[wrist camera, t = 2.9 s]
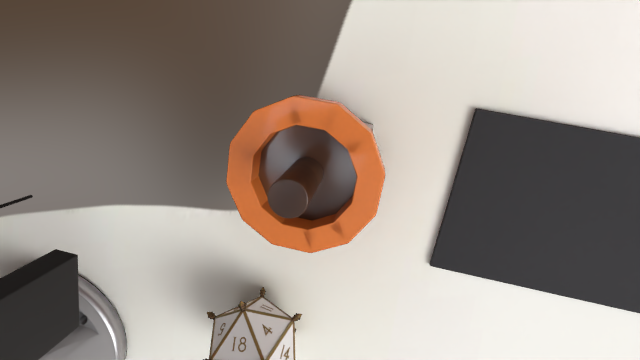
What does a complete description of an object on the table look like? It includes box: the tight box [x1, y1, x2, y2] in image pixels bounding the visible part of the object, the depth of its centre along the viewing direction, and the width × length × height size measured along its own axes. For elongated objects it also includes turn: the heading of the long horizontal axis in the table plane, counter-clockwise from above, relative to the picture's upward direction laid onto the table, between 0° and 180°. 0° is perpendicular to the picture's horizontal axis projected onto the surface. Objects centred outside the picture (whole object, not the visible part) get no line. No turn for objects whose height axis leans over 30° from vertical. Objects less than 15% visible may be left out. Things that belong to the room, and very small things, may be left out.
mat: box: [430, 108, 640, 313], centre depth 26 cm, size 20×13×1 cm, turn 81°
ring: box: [226, 95, 385, 253], centre depth 25 cm, size 11×11×2 cm
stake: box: [258, 123, 373, 221], centre depth 24 cm, size 8×8×9 cm
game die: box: [203, 287, 302, 360], centre depth 29 cm, size 9×8×10 cm
